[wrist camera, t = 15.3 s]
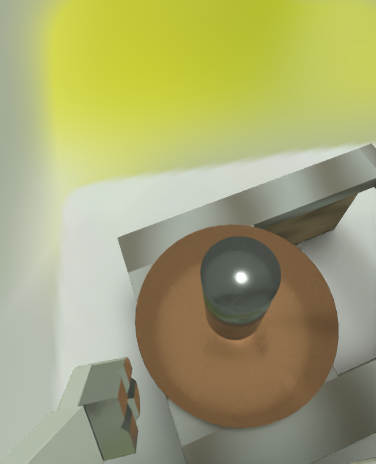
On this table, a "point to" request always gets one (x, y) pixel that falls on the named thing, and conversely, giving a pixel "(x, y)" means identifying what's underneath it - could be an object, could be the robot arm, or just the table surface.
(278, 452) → the wood and metal frame
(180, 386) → the spinning top
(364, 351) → the table surface
